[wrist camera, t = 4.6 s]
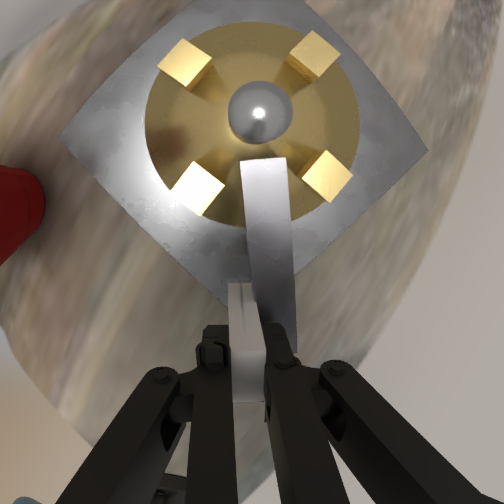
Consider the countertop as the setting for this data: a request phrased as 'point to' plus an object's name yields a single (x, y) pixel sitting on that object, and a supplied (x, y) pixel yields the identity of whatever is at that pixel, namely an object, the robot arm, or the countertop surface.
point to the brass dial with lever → (255, 140)
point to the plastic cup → (18, 208)
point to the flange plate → (182, 217)
